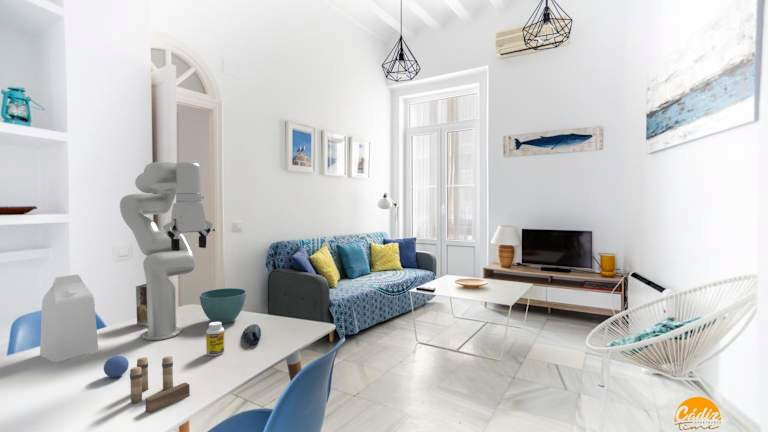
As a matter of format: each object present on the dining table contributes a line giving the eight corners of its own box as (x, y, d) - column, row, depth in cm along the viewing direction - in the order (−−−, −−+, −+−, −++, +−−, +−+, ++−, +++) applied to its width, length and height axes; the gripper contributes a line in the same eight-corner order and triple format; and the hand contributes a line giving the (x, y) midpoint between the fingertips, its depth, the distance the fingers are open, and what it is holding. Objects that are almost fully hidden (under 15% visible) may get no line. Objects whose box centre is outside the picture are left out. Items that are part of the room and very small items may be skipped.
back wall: (145, 410, 94) (145, 398, 94) (185, 393, 103) (185, 382, 103) (150, 413, 93) (149, 400, 93) (189, 395, 102) (189, 384, 102)
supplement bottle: (208, 357, 126) (207, 327, 126) (205, 352, 131) (204, 322, 130) (226, 354, 129) (225, 324, 129) (222, 348, 134) (222, 319, 133)
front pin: (135, 390, 104) (134, 359, 104) (145, 386, 106) (145, 356, 106) (140, 393, 103) (139, 361, 103) (150, 389, 105) (149, 358, 105)
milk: (82, 343, 138) (80, 271, 137) (98, 349, 132) (96, 274, 131) (39, 355, 128) (37, 277, 127) (55, 362, 122) (52, 281, 121)
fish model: (242, 349, 134) (242, 334, 134) (242, 330, 154) (242, 318, 154) (262, 347, 136) (262, 332, 136) (259, 329, 156) (259, 316, 156)
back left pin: (160, 389, 105) (160, 358, 105) (170, 385, 107) (169, 355, 107) (165, 391, 104) (165, 360, 103) (175, 387, 106) (174, 357, 105)
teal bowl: (212, 314, 174) (212, 287, 173) (252, 315, 173) (252, 288, 172) (191, 328, 155) (190, 297, 155) (236, 328, 155) (235, 298, 154)
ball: (100, 377, 112) (99, 357, 111) (122, 370, 117) (122, 350, 116) (109, 383, 108) (109, 362, 108) (132, 374, 114) (132, 354, 113)
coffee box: (166, 322, 163) (165, 284, 162) (152, 326, 157) (151, 287, 156) (150, 319, 166) (149, 282, 165) (136, 324, 160) (135, 285, 159)
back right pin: (128, 402, 98) (127, 369, 98) (139, 397, 100) (138, 365, 100) (133, 405, 97) (132, 371, 96) (144, 400, 99) (143, 368, 99)
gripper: (204, 199, 140) (205, 246, 141) (156, 198, 125) (157, 251, 126) (218, 199, 136) (218, 247, 137) (170, 198, 121) (171, 252, 122)
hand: (189, 249), depth 131 cm, fingers open, 9 cm apart
